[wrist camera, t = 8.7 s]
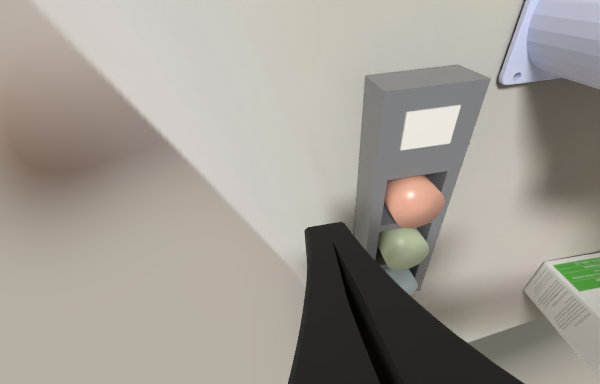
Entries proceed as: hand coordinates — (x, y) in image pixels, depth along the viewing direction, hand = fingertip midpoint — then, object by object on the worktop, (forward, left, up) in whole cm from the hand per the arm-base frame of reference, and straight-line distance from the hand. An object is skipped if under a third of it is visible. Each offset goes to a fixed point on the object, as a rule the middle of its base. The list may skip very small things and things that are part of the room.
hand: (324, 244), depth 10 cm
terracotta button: (-8, +6, -9) cm, 14 cm away
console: (-8, +8, -10) cm, 15 cm away
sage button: (-8, +10, -9) cm, 16 cm away
